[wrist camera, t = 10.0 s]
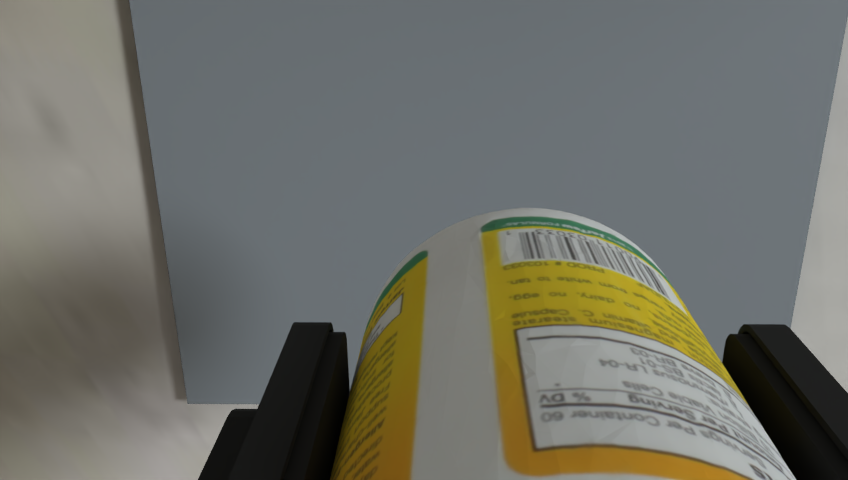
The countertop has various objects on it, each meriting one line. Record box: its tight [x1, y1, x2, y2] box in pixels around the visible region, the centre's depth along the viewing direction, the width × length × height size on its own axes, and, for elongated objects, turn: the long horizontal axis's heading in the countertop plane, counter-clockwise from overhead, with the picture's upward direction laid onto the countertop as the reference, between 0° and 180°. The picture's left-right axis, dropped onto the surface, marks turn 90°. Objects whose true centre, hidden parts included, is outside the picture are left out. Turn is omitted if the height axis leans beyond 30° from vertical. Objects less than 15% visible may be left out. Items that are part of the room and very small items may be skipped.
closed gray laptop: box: [129, 0, 848, 404], centre depth 23 cm, size 20×16×1 cm
